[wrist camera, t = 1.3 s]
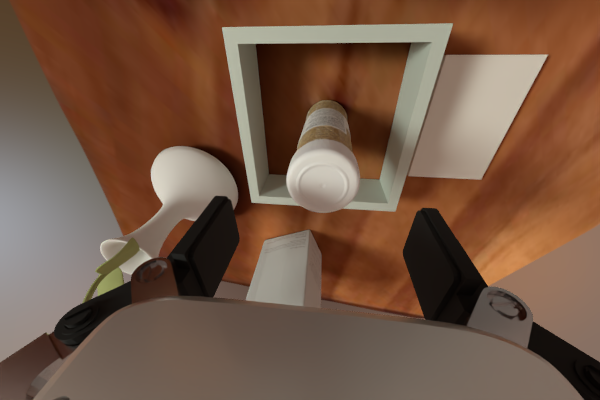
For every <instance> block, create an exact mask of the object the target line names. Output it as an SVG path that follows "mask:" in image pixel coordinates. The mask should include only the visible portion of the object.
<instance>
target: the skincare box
mask: <svg viewBox="0 0 600 400" xmlns="http://www.w3.org/2000/svg"><path fill="white" fill-rule="evenodd" d="M321 264H322V254H321V252H320V250H319V248H318V245H317V243H316V241H315V239H314V237H313V235H312V233H311V231H310V230H305V231H301V232H297V233H293V234H289V235H285V236H280V237H276V238H272V239H268V240H265V241H264V244H263V247H262V250H261V254H260V257H259V260H258V263H257V266H256V269H255V272H254V276H253V279H252V282H251V285H250V288H249V291H248V295H247V298H246V301H256V302H266V303H276V304H286V305H296V306H306V307H315V308H321Z"/></svg>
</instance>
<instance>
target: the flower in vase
mask: <svg viewBox="0 0 600 400" xmlns="http://www.w3.org/2000/svg"><path fill="white" fill-rule="evenodd" d="M151 180H152V183H153V187H154V190H155V192H156V194H157V196H158V197H159V199H160V200H161V201H162V203H163V206H162V208H161V209H160V210H159V212H158V213H157V214H156V215H155V216H154V217H153V218H152V219H150V220H149V221H148V222H147V223H146V224H144V225H143V226H142V227H140V228H139V229H137V230H136V231H134V232H132V233H130V234H128V235H126V236H123V237H120V238H114V239H109V240H106V241H104V242H103V243H102V244H101V246H100V250H101V253H102V255H103V257H104V258H105V259H106V260H107V261H106V262H105V263H103V264H102V265H101V266H99V267H98V268H97V269H96V271H95V272H97V273H99V274H100V275H99V276H98V278H97V279H96V280H95V281H94V283H93V284H92V285H91V287H90V289H89V291H88V292H87V294H86V296H85V298H84V300H83V303H84V302H86V301H89V300H91V298H92V296H93V293H94V292H95V290H96V288H97V289H98V296H99V295H101V294H104V293H106V292H108V291H110V290H112V289H114V288H117V287H119V286H121V285H123V284H124V280H123V274H122V271H123V272H125V273H128V274H131V275H132V274H133V272H134V270H135V269H136V268H137V267H138V266H139V265H141V264H142V263H144V262H146V261H148V260H150V259H153V258H158V255H159V252H160V249H161V247H162V245H163V242H164V241H165V239H166V237H167V236H168V234H169V233H170V232H171V230H172V229H173V228H174V227H175V225H176V224H177V223H178V222H179V221H181V220H182V219H184V218H185V219H189V220H192V221H196V220H197V219H198V217H199V216H200V215H201V213H202V212H203V211H204V209H205V208H206V207H207V206H208V204H209V203H210V202H211V200H212V199H213V198H214V197H215V196H227V197H228V199H230V200H231V201H232V206H233V210H234V209H235V207H236V205H237V202H238V189H237V186H236V183H235V181H234V178H233V176H232V175H231V173H230V172H229V170H228V169H227V168H226V167H225V166H224V165H223V164H222V163H221V162H220V161H219V160H218V159H216V158H215V157H214V156H212V155H210V154H208V153H207V152H204V151H202V150H199V149H196V148H192V147H187V146H175V147H170V148H167V149H165V150H163V151H162V152H161V153H159V154H158V156H157V157H156V158H155V161H154V163H153V165H152V169H151Z"/></svg>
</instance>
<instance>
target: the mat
mask: <svg viewBox="0 0 600 400" xmlns="http://www.w3.org/2000/svg"><path fill="white" fill-rule="evenodd" d="M547 56H548V55H544V54H514V55H443V58H442V61H441V65H440V68H439V71H438V75H437V78H436V81H435V84H434V88H433V91H432V94H431V97H430V101H429V104H428V107H427V110H426V114H425V117H424V120H423V123H422V127H421V130H420V133H419V136H418V140H417V143H416V146H415V149H414V153H413V156H412V159H411V162H410V166H409V169H408V172H407V175H408V176H415V177H436V178H458V179H479V180H481V179H482V177H483V175H484V173H485V171H486V170H487V168H488V166H489V164H490V162H491V160H492V158H493V156H494V155H495V153H496V151H497V149H498V147H499V145H500V143H501V142H502V140H503V138H504V136H505V134H506V132H507V130H508V129H509V127H510V125H511V123H512V121H513V119H514V117H515V115H516V114H517V112H518V110H519V108H520V106H521V104H522V102H523V101H524V99H525V97H526V95H527V93H528V91H529V89H530V88H531V86H532V84H533V82H534V80H535V78H536V76H537V74H538V73H539V71H540V69H541V67H542V65H543V63H544V61H545V60H546V58H547Z"/></svg>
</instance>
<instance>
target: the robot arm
mask: <svg viewBox="0 0 600 400" xmlns="http://www.w3.org/2000/svg"><path fill="white" fill-rule="evenodd" d="M238 243H239V233H238V228H237V224H236V219H235V215H234V210H233V206H232V201H231V200H230V199H228V197H227V196H215V197H214V198H213V199H212V200H211V202H210V203H209V204H208V206H207V207H206V208H205V209H204V211H203V212H202V213H201V215H200V216H199V217H198V219H197V220H196V221H195V222H194V223H193V225H192V226H191V227H190V229H189V230H188V231H187V233H186V234H185V235H184V236H183V238H182V239H181V240H180V242H179V243H178V244H177V245H176V247H175V248H174V249H173V251H172V252H171V253H170V255H169V256H168V257H167V258H163V257H158V258H153V259H150V260H148V261H146V262H144V263H142V264H141V265H139V266H138V267H137V268H136V269H135V270H134V272H133V274H132V275H131V281H130V282H127V283H125V284H123V285H121V286H119V287H117V288H114V289H112V290H110V291H108V292H106V293H104V294H101V295H99V296H97V297H95V298H93V299H91V300H89V301H86V302H84V303H82V304H80V305H78V306H76V307H75V308H73V309H72V310H70V311H69V312H68V313H67V314H65V315H64V316H63V317H62V318H61V319H60V321H59V322H58V323H57V325H56V327H55V330H54V332H52V333H51V334H47V333H44V334H43V335H41V336H40V337H38V338H37V339H35V340H34V341H32V342H31V343H29V344H27V345H26V346H24V347H23V348H21V349H20V350H18V351H17V352H15V353H14V354H12V355H11V356H9V357H8V358H6V359H5V360H3V361H2V362H0V400H600V362H599V361H597V360H595V359H594V358H592V357H590V356H589V355H587V354H585V353H584V352H582V351H580V350H579V349H577V348H576V347H574V346H572V345H571V344H569V343H567V342H566V341H564V340H562V339H561V338H559V337H558V336H555V335H554V334H553V333H551V332H549V331H548V330H546V329H544V328H543V327H541V326H539V325H538V324H536V323H535V322H533V314H532V312H531V310H530V309H529V307H528V306H527V305H526V304H525V303H524V302H523V301H522V300H521V299H520V298H519V297H517V296H516V295H514V294H513V293H511V292H509V291H507V290H504V289H502V288H498V287H488V286H487V284H486V283H485V281H484V280H483V278H482V276H481V275H480V273H479V272H478V270H477V269H476V267H475V266H474V264H473V263H472V261H471V260H470V258H469V257H468V255H467V254H466V252H465V251H464V249H463V247H462V246H461V244H460V243H459V241H458V240H457V239H456V237H455V236H454V234H453V233H452V231H451V230H450V228H449V227H448V225H447V224H446V222H445V221H444V219H443V217H442V216H441V214H440V213H439V211H438V210H437V209H435V208H422V209H421V211H417V213H416V216H415V219H414V221H413V224H412V227H411V230H410V232H409V235H408V238H407V240H406V243H405V246H404V249H403V257H404V260H405V262H406V265H407V268H408V271H409V274H410V277H411V280H412V283H413V286H414V288H415V291H416V294H417V297H418V300H419V303H420V306H421V309H422V312H423V315H424V317H425V319H426V320H423V319H415V318H407V317H399V316H389V315H380V314H371V313H362V312H353V311H344V310H333V309H324V308H315V307H306V306H296V305H286V304H276V303H266V302H256V301H246V300H236V299H225V298H213V296H214V295H215V292H216V290H217V288H218V286H219V283H220V282H221V280H222V277H223V275H224V273H225V271H226V269H227V267H228V265H229V262H230V260H231V258H232V256H233V254H234V252H235V250H236V248H237V245H238Z"/></svg>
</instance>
